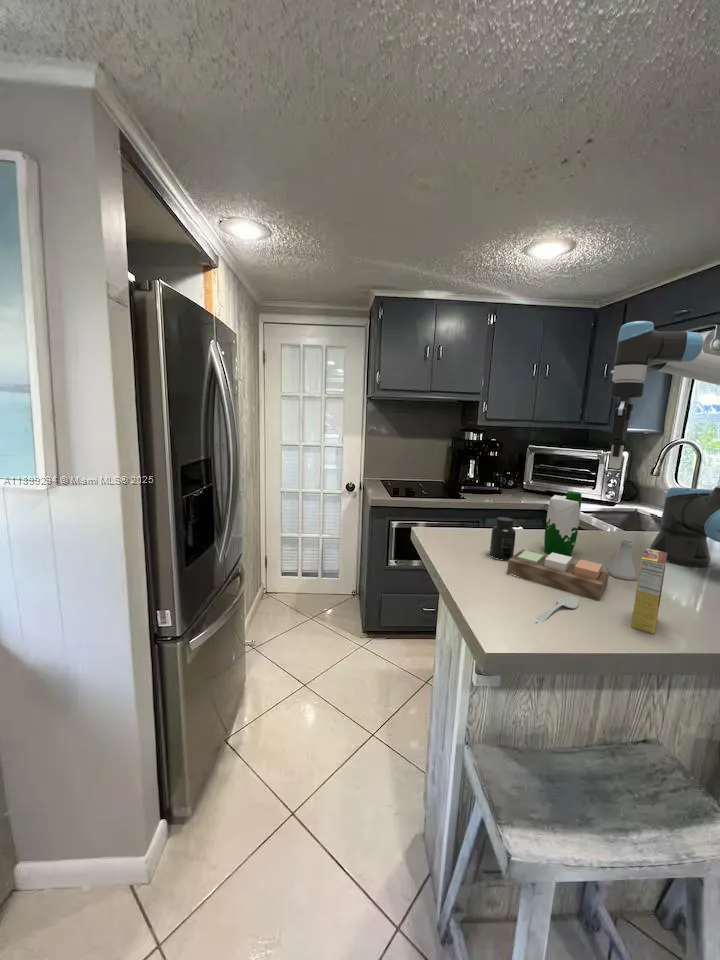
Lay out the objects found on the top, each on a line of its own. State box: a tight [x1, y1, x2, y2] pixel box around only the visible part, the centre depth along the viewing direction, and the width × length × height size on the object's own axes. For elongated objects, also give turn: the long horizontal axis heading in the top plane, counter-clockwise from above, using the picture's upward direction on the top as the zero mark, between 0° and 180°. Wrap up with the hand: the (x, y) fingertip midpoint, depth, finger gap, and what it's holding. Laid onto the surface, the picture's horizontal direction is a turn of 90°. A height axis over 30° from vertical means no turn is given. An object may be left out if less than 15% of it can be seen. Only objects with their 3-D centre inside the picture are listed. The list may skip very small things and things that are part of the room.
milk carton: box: [543, 491, 582, 557], centre depth 125 cm, size 9×9×20 cm
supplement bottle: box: [489, 516, 517, 561], centre depth 119 cm, size 7×7×12 cm
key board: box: [506, 549, 610, 601], centre depth 105 cm, size 22×12×4 cm, turn 50°
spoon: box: [535, 595, 580, 623], centre depth 87 cm, size 4×21×2 cm, turn 127°
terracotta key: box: [574, 559, 603, 581], centre depth 100 cm, size 5×7×4 cm
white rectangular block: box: [544, 552, 573, 572], centre depth 104 cm, size 5×7×4 cm
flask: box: [606, 539, 638, 581], centre depth 109 cm, size 7×7×10 cm
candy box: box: [630, 548, 667, 635], centre depth 83 cm, size 9×4×15 cm, turn 140°
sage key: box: [517, 549, 545, 564], centre depth 109 cm, size 5×7×4 cm
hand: (614, 468), depth 111 cm, fingers closed
